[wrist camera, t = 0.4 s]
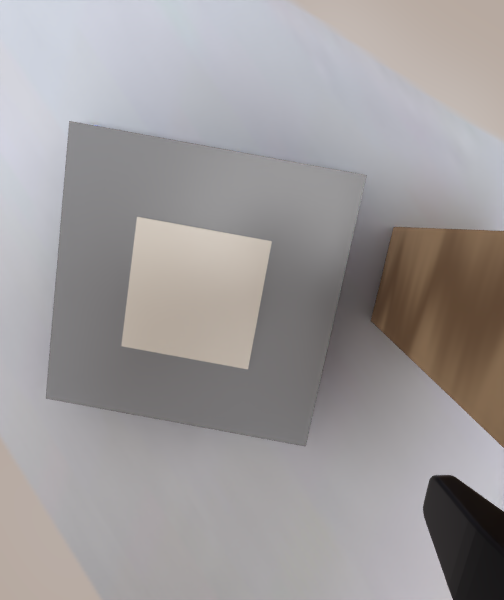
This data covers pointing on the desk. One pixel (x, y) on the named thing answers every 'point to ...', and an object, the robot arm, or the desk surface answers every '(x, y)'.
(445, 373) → the oak block
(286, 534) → the desk surface
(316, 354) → the baseplate
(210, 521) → the desk surface
